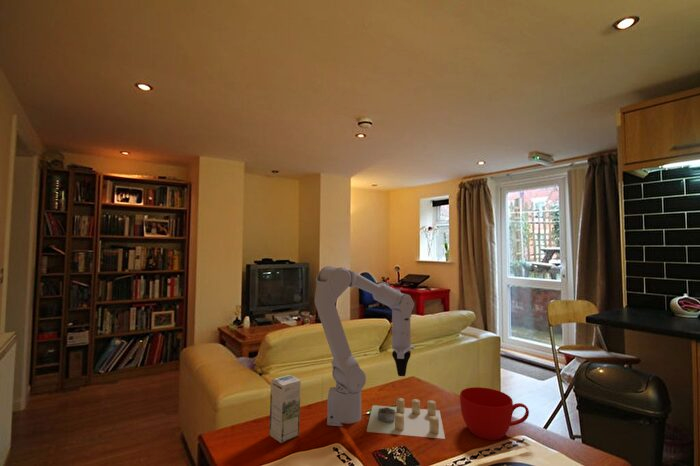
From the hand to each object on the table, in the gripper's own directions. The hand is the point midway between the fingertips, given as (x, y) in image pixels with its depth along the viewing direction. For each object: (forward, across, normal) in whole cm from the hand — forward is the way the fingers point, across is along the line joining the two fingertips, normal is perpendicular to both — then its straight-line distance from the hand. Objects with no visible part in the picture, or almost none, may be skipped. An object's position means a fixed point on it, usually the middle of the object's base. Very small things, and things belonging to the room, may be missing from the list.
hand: (401, 375), depth 108 cm
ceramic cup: (+10, -13, -24) cm, 29 cm away
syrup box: (+10, -23, +29) cm, 39 cm away
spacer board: (+10, -11, -1) cm, 15 cm away
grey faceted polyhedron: (+8, -11, +4) cm, 14 cm away
